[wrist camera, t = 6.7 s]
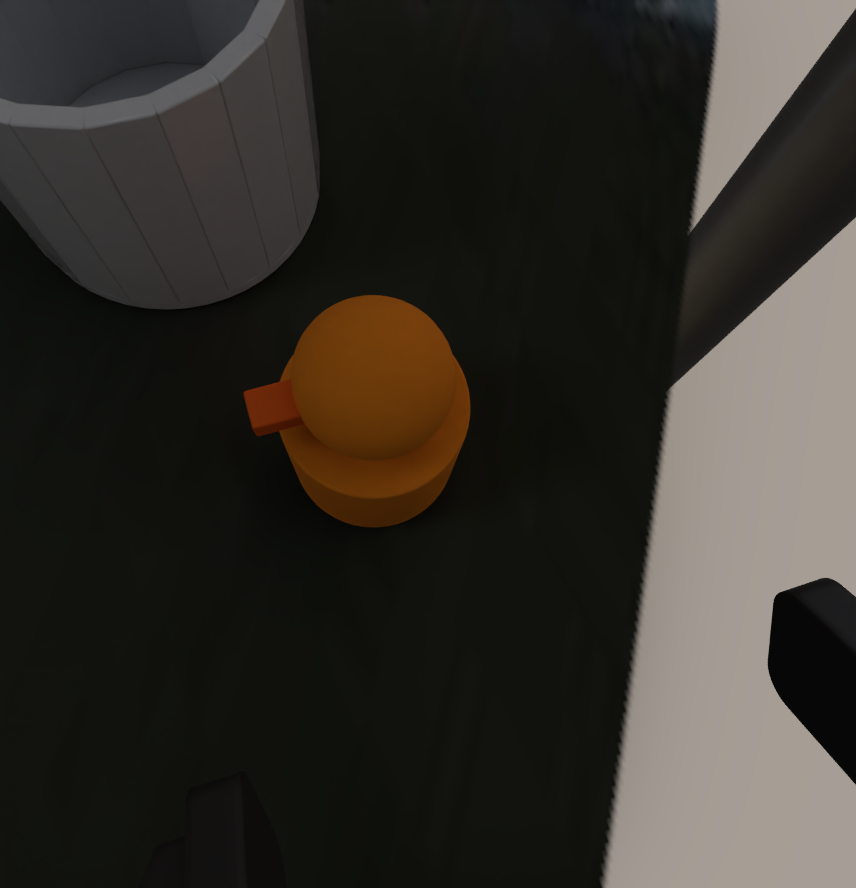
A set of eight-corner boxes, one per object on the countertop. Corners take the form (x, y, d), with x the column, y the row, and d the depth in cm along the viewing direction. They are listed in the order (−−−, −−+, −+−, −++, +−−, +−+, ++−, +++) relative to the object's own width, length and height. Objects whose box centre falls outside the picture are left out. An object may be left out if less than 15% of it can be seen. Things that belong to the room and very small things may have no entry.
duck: (427, 356, 25) (450, 217, 17) (474, 501, 24) (523, 423, 16) (260, 400, 24) (205, 275, 16) (301, 552, 23) (262, 497, 15)
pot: (280, 38, 28) (239, -232, 20) (353, 269, 26) (342, 76, 17) (4, 91, 27) (-171, -176, 18) (52, 342, 24) (-123, 170, 16)
